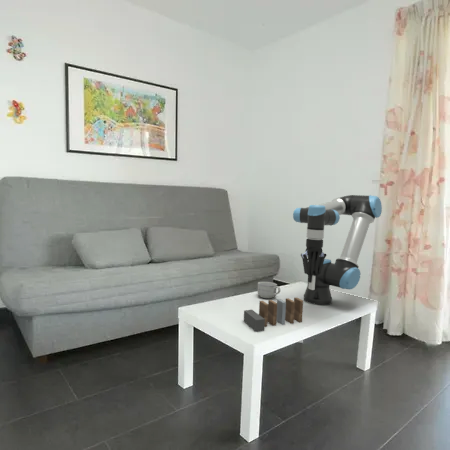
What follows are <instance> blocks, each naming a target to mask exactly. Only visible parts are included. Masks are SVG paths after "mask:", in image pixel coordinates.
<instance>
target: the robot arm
mask: <svg viewBox="0 0 450 450" xmlns="http://www.w3.org/2000/svg"><path fill="white" fill-rule="evenodd" d="M382 209H383V205H382V201H381V198H380V197H379V196H378V195H371V194H370V195H365V194H364V195H360V194H359V195H358V194H357V195H356V194H351V195H350V194H349V195H345V196H340V197H336V198H333V199H332V200H331V201H328V202H325V203H321V204H310V205H309V206H308V207H296V208H294V211H293V214H292V218H293V220H294V221H295V222H296V223H300V224H307V226H306V240H305V246H306V249H305V251H304V253H300V257H301V258H302V265H303V271H304V272H303V273H304V274H305V275H307V286H306V289H305V291H304V294H303V302H305V303H309V304H312V305H319V306H325V305H326V306H327V305H332V303H333V297H332V294H331V289H330V286H332V287H336V288H340V289H343V290H353V289H354V288H356V287H357V286H358V285H359V282H360V279H361V270H360V269H359V265H358V260H359V256H360V253H361V250H362V248H363V246H364V245H363V244H364V242H365V239H366V236H367V233H368V230H369V227H370V224H372V223H374V221H375V219H377V218H379V217H381V214H382V213H383V212H382V211H383V210H382ZM341 215H345V216H351V217H352V223H351V225H350V228H349V231H348V234H347V236H346V239H345V242H344V246H343V248H342V252H341V254H340V257H338V258H336V259H335V262H333V263H332V260H331V259H329V258H328V259H327V258H326V257H327V254H326V253H324V252H323V247H324V236H325V226H335V225H337V224H338V223H339V222H340V218H341V217H340V216H341Z"/></svg>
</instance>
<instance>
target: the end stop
mask: <svg viewBox="0 0 450 450" xmlns="http://www.w3.org/2000/svg"><path fill="white" fill-rule="evenodd" d="M243 322H244V323H245V324H246V325H248V326H249V327H250V328H251V329H252V330H253V331H254V332H256V333H257V332H264V331H265V328H266V327H265V319H264V318H263V317H261V316H260V315H259V313H257V312H256V311H254V310H253V309H248V310H247V309H246V310H243Z"/></svg>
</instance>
